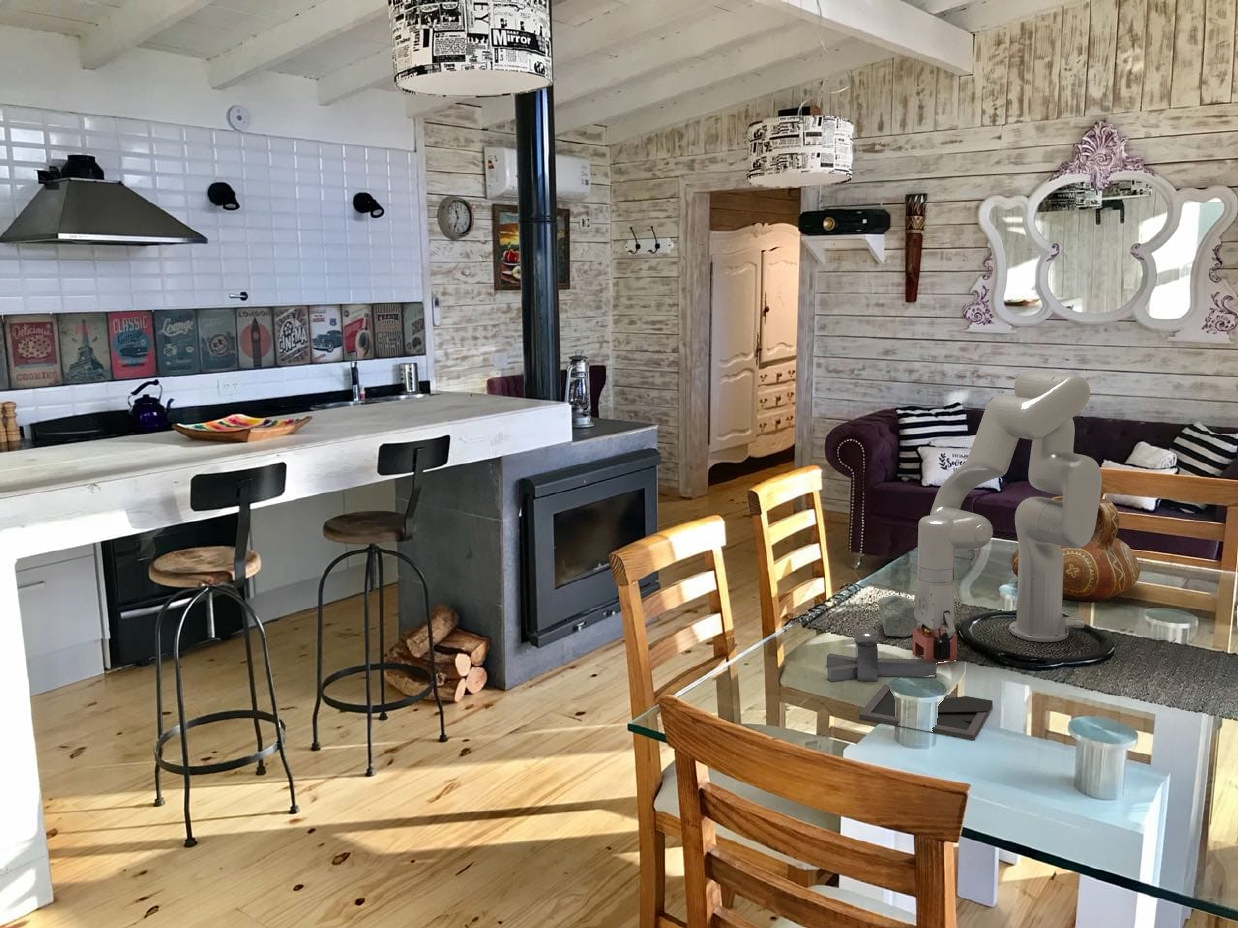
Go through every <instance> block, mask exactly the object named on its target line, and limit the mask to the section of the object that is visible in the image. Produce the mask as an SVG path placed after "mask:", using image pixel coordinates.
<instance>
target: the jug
mask: <svg viewBox="0 0 1238 928" xmlns="http://www.w3.org/2000/svg"><path fill="white" fill-rule="evenodd" d="M1050 499H1054V500H1059V501H1062V502H1063V496H1062V495H1058V496H1052V497H1050ZM1119 527H1120V514H1119V511H1118V508H1117V507H1116V506H1115V504H1114V503H1113V502H1112V501H1111V500H1109V499H1108V498H1107V499H1106V498H1103V497H1102V498H1101V497H1100V500H1099V507H1098V514H1097V520H1096V526H1095V530H1094V534H1093V536H1092V538H1091V540H1090V541H1089V543H1088V544H1086V545H1085V546H1084V547H1082V548H1077V549H1073V548H1067V547H1063V546H1061V549H1062V552H1063V557H1064V572H1063V596H1062V601H1065V602H1071V603H1072V602H1073V603H1081V604H1086V603H1087V604H1096V603H1102V602H1107V601H1109V600H1111V599H1113V598H1116V597H1117V596H1119V595H1121V594H1124V592H1127V591H1128V590H1130V589H1131V588H1132V587H1134V585H1135V584H1136V583H1137V581H1138V580H1139V578H1140V574H1141V566H1140V563H1139V561H1138V559H1137V557H1136V554H1135V552H1134V551H1133V550H1132V549H1131V547H1130V546H1129V545H1128V544H1127V543H1125V542H1124V541H1123V540H1121V539H1120V538H1119V537H1118V538H1117V537H1116V536H1117V533H1118V531H1119ZM1018 562H1019V547H1017V549H1016V550H1015V552H1014V553H1013V554H1012V556H1011V560H1010V564H1011V568H1012V572H1013V574H1014V575H1015V576H1016V577H1017V578H1018Z"/></svg>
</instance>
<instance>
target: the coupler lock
mask: <svg viewBox="0 0 1238 928" xmlns="http://www.w3.org/2000/svg"><path fill="white" fill-rule="evenodd" d="M940 627H945V625H941V626H940ZM940 632H941V636H942V634H943V633H945V630H942V631H940ZM935 642H938V641H937V636H936V631H935V630H931V629H930V628H928V627H922V628H913V634H912V655H913V657H921V656H920V655H924V656H923V659H935ZM957 655H958V634H956V633H955V634H954V635H953V638H952V641H951V642H950V659H945V660H936V659H935V661H936V663H938V662H944V661H954V660H957V659H958V657H957Z"/></svg>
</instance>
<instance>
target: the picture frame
mask: <svg viewBox="0 0 1238 928" xmlns="http://www.w3.org/2000/svg"><path fill="white" fill-rule="evenodd" d="M889 685H890V684H886V683H884V684H883V685H882V686H881V688H880V689H879V690H878V691H877V692H876V694H875V695H874V696H873V697H872V699H871V700H870V701H869V702H868V703H867V704H866V706H865V707H864V708H863V709H862V710H861V711H860V713H859V719H860V720H864V721H868V722H874V723H880V724H884V725H888V726H889V725H890V726H894V727H895V726H896V727H899V726H898V723H899V721H898V720H897V718H896V717H895V699H894V696H893V694H892V693H891V691H890V687H889ZM945 695H946V696H945V697H944V700H943V701H942V702H941V703H940V704H939V706H938V718H937V725H935V727H933V728H932V729H933V730H932V731H933V733H932V734H937V735H942V736H947V737H948V736H949V737H953V738H959V739H964V740H970V741H975V739H976V737H977V736H978V734H979V732H980V730H981V729H982V727H983V725H984V723H985V721H986V719H988V716H989V714H990V712H991V711H992V709H993V706H994V705H993V700H992V699H987V698H979V697H974V696H967V695H963V696H962V695H961V696H955V695H950V694H945Z"/></svg>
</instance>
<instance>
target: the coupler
mask: <svg viewBox="0 0 1238 928" xmlns="http://www.w3.org/2000/svg"><path fill="white" fill-rule="evenodd" d="M853 632H854V633H853V636H854V637H853V638H854V640H853V642H854V643H855V656H850V655H849V656H848V655H844V654H837V653H830V652H829V653H828V654H827V655H826V667H827V679H828V680H829V681H830V683H831V682H838V681H846V680H854V679H857V681H862V682H863V681H864V682H878V681H879V680H878V678H879V677H903V678H904V677H905V678H908V677H909V678H915V677H914V676H929V675H935V676H936V677H937V664H936V661H935V659H924V658H892V657H891V658H890V657H889V658H887V657H882V658H881V657H878V653H879V652H878V651H879V650H878V649H879V648H878V644H880V632H879V631H878V630H876V629H873V628H859V629H855V630H854V631H853Z"/></svg>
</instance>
